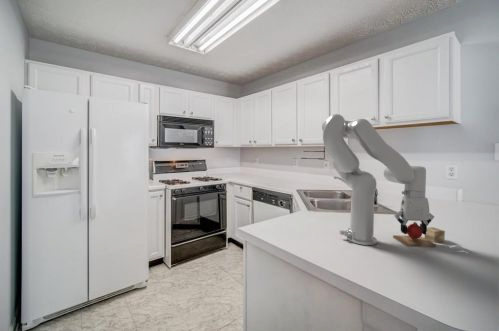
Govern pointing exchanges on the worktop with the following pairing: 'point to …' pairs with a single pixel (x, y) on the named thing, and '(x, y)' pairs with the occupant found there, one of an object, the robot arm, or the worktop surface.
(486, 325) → the worktop surface
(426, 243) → the board
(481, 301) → the worktop surface
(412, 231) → the onion
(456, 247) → the tile
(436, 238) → the oak block
